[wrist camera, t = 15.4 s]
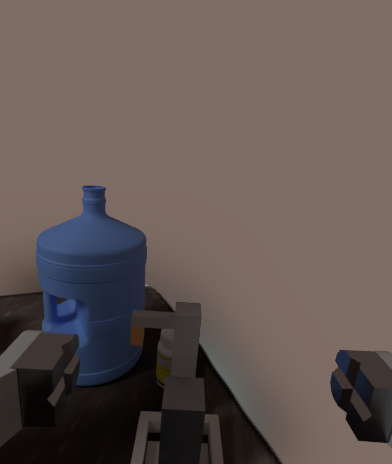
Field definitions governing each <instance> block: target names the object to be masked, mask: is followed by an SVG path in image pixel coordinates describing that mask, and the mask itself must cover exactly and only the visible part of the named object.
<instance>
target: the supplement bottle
mask: <svg viewBox="0 0 392 464" xmlns="http://www.w3.org/2000/svg"><path fill="white" fill-rule="evenodd" d="M173 338H174V329H162V330H161V336H160V341H159V343H158V348H157V368H156V380H157V383H158V384H159V385H160V386H161V387H162V388H164V385H165V376H171V365H172V351H173Z"/></svg>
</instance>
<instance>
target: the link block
mask: <svg viewBox="0 0 392 464" xmlns="http://www.w3.org/2000/svg"><path fill="white" fill-rule="evenodd" d="M204 419H205V393H204V378H192V377H176V376H165V385H164V394H163V402H162V412H161V427H160V442H159V457H158V464H199V462H200V453H201V445H202V436H203V428H204Z"/></svg>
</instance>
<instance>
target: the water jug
mask: <svg viewBox="0 0 392 464" xmlns="http://www.w3.org/2000/svg"><path fill="white" fill-rule="evenodd" d="M82 189H83V191H84V197H83V198H82V201H83V213H82V214H81V215H80V216H78V217H75V218H73V219H71V220H69V221H66V222H64V223H61V224H59V225H57V226H54V227H52V228H50V229H47V230H45V231H43V232H42V233H41V234H40V235H39V236H38V238H37V249H36V260H37V267H38V273H39V284H40V286H41V288H42V289H43V300H44V316H45V318H44V320H43V323H42V331H43V332H44V331H49V332H61V333H73V334H77V335H78V336H79V348H78V349H77V351H76V354H77V356H78V357H79V358H80V368H79V375H78V379H77V382H76V385H75V386H94V385H99V384H103V383H107V382H110V381H112V380H115V379H117V378H119V377H120V376H122V375H124V374H125V373H127V372H128V371H129V370H130V369H131V368H132V367H133V366H134V365H135V364H136V363H137V361H138V360H139V358H140V356H141V354H142V350H143V345H142V346H133V345H131V316H132V313H133V310H144V307H145V293H144V286H145V264H146V259H147V247H146V237H145V235H144V233H143V232H141V231H140V230H139V229H137V228H134V227H132V226H130V225H128V224H125V223H123V222H121V221H119V220H117V219H114V218H112V217H110V216H108V215H107V214H106V212H105V203H106V199H105V190H106V188H105V187H102V186H83V187H82ZM57 297H60V298H65V299H68V300H67V301H65V302H63V303H61V304H59V305H57Z"/></svg>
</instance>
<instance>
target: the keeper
mask: <svg viewBox="0 0 392 464" xmlns="http://www.w3.org/2000/svg"><path fill="white" fill-rule="evenodd" d="M200 325H201V305H200V303H185V302H176V312H160V311H144V310H133V313H132V316H131V345H133V346H142V345H143V341H144V327H146V328H162V329H174V338H173V351H172V365H171V376H176V377H192V378H195V374H196V364H197V355H198V345H199V335H200ZM160 427H161V412H152V411H141V412H140V417H139V422H138V428H137V433H136V438H135V444H134V449H133V454H132V460H131V464H144V458H145V451H146V444H147V437H148V432H149V433H160ZM203 435H208V442H209V455H208V444H205V443H202V445H201V453H200V462H199V464H209V458H210V464H224V463H223V454H222V445H221V435H220V426H219V417H218V415H213V414H205V419H204V428H203ZM159 442H160V441H148V444H147V451H146V458H145V464H158V457H159Z"/></svg>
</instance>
